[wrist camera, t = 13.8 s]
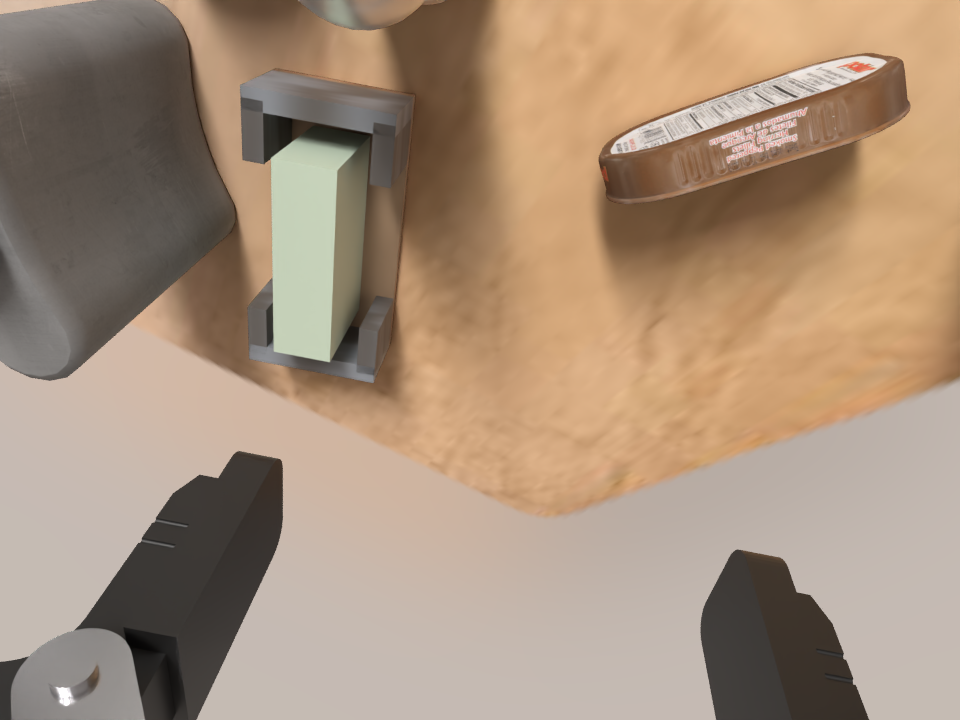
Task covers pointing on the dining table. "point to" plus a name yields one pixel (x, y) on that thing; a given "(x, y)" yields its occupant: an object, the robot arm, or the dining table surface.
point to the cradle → (388, 121)
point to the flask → (96, 177)
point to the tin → (755, 128)
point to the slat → (317, 239)
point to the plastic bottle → (365, 11)
